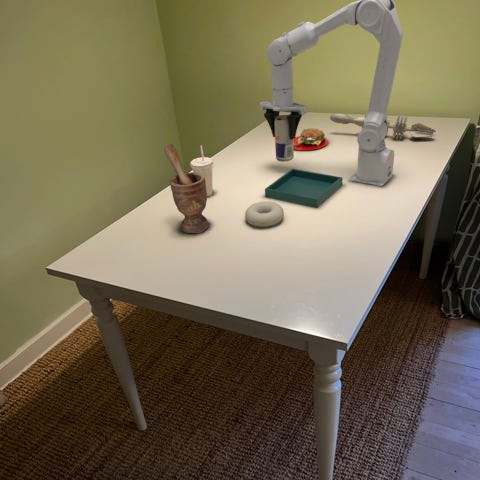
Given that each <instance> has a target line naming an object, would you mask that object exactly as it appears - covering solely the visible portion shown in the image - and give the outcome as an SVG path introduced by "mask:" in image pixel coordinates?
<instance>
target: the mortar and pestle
mask: <svg viewBox="0 0 480 480" xmlns="http://www.w3.org/2000/svg"><path fill="white" fill-rule="evenodd" d="M163 149H164V154H165V156H166V157H167V160H168V161H169V163H170V164H171V167H172V168H173V169H174V172H175V173H176V175H174V176H173V177H171V178H170V180H169V186H170V191H171V193H172V198H173V202H174V204H175V206H176V209H177V211H178V212H179V213H180V214H182V216H184V218H183V219H182V220H181V222H180V230H181V231H182V232H183V233H186V234H202V233H203V232H204V231H206V230H207V229H208V228H209V227H210V222H209V220H208V218H207V217H206V216H204V215H203V212H204V210H206V207H207V202H208V196H207V192H206V184H205V177H204V175H203V174H201V173H195V172H193V171H190V172H186V171H185V169H184V167H183V164H182V161H181V159H180V155H179V153H178V150H177V148H176V147H175V145H174V144H173V143H169V144H168V145H166V146H164V148H163Z"/></svg>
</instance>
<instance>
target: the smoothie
mask: <svg viewBox="0 0 480 480" xmlns="http://www.w3.org/2000/svg"><path fill="white" fill-rule="evenodd" d="M199 147H200V154H201V157H197V158H194V159H192V160H191V161H190V168H191V169H192V172H195V173H201V174H203V175H204V177H205V184H206V192H207V197H210V196H212V195H213V193H214V191H213V189H214V188H213V187H214V186H213V166H214V160H213V159H212V158H211V157H207V156H206V157H205V156H204V155H205V154H204V149H203V145H199Z"/></svg>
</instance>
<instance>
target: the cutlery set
mask: <svg viewBox="0 0 480 480" xmlns="http://www.w3.org/2000/svg"><path fill="white" fill-rule="evenodd" d="M366 116H367V114H365V115H364V117H363V116H361V117H351V116H350V115H348V114H344V113H333V114H331V115H330V116H329V119H330V121H331V122H333V123H336V124H340V125H341V124H342V125H348V124H354V125H356V126H358V127H360V128H361V130H362V129H363V126H364V121H365V118H366ZM407 120H408V117H407V116H405V117H404V116H400V115H398V116H397V118H396V122H395V123H394V124H390V122H391V121H390V120H388V119H387V124H388V129H392V132H393V133H392V139H396V140H398V139H399V140H402V139H403V135H404V133H406V132H409V135H410V136H412V137H413V138H415V139H420V138H421V139H422V138H432V137H435V136H436V135H435V134H434V133H436V132H437V130H435V129H434V128H432V127H429V126H427V125H424V124H422V123H420V122H418V123H415V124H411V127H409V126H408V125H407Z"/></svg>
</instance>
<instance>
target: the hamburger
mask: <svg viewBox="0 0 480 480" xmlns="http://www.w3.org/2000/svg"><path fill="white" fill-rule="evenodd" d="M328 143H329V140H328V139H327V137H326V135H325V133H324V131H323V130H321V129H319V128H312V127H311V128H306V129H303V130H302V132H301V133H299V135H298V136H296V137H295V138H294V139H293V147H294V150H298V151H312V150H318V149H321V148H324V147H326V146H327V145H328Z"/></svg>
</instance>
